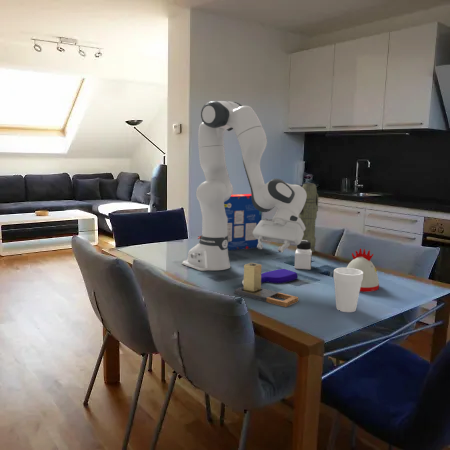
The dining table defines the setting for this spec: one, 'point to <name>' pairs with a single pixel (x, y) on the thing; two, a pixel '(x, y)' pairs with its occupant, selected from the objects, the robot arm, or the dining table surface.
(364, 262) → the kitchen timer
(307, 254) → the medicine bottle
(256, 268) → the tan square peg
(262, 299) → the peg insertion board
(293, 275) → the purple flat blob
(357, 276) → the foam cup
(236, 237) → the pasta box
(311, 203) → the olive green tall piece
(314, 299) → the dining table surface
